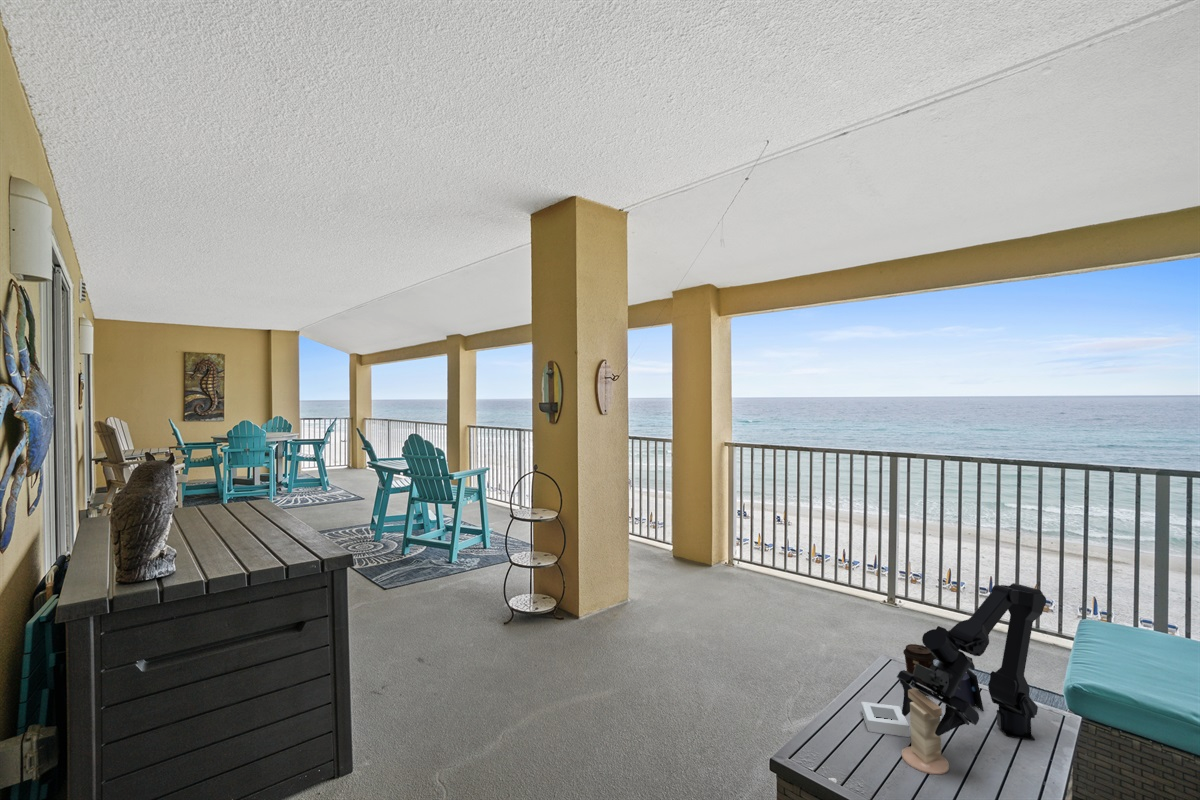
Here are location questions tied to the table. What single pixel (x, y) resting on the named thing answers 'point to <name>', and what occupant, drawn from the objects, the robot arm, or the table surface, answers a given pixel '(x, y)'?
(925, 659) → the coffee cup
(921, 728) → the wooden block tower
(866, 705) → the socket
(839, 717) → the table surface
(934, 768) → the peach flat disc
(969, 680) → the speaker
